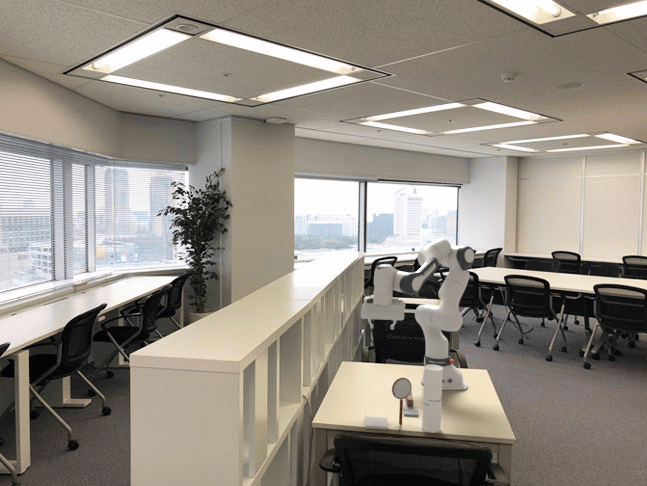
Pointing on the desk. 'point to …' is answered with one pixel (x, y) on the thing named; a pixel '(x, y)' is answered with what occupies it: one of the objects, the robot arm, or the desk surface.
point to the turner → (410, 407)
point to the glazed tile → (376, 422)
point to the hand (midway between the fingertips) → (381, 328)
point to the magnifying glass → (401, 392)
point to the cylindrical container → (432, 398)
